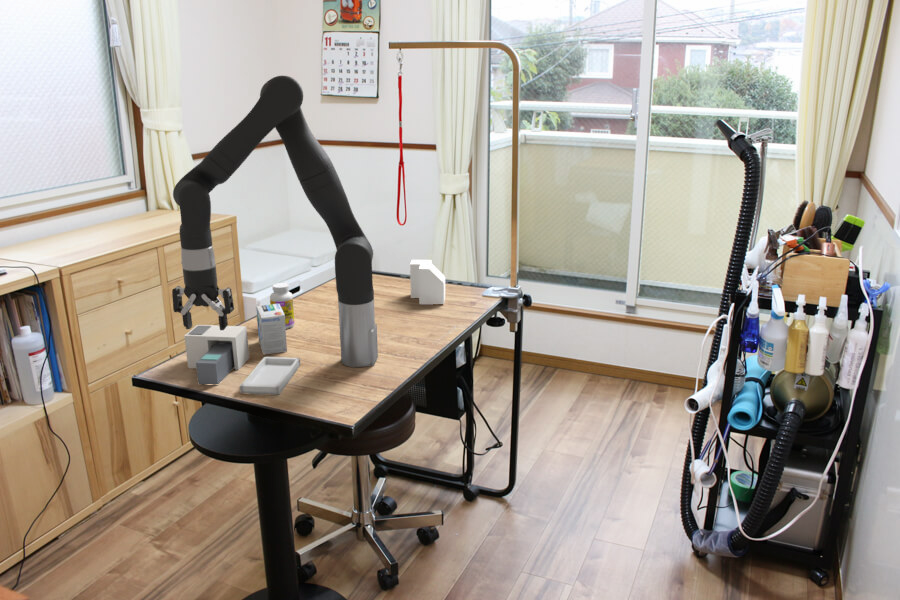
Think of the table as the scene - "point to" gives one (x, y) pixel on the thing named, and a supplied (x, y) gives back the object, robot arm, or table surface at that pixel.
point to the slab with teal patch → (215, 364)
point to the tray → (270, 375)
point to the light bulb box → (271, 328)
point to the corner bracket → (427, 282)
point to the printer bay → (209, 335)
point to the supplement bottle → (284, 302)
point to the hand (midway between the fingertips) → (206, 328)
